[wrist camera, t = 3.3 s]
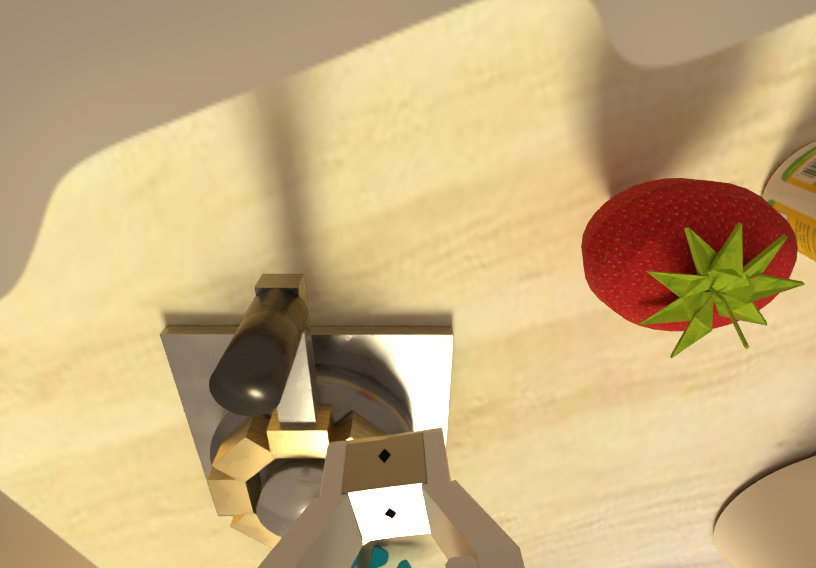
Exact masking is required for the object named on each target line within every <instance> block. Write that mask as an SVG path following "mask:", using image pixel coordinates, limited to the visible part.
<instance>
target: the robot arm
mask: <svg viewBox="0 0 816 568" xmlns="http://www.w3.org/2000/svg"><path fill="white" fill-rule="evenodd" d="M427 533H431V536H432V537H433V539H434V540H435V542H436V543H437V544H438V546H439V547H440V549H441V550H442V552H443V553H444V555H445V556H446V557H447V559H448V561H447V563H446V564H445V565H446V568H525V567H524V563H523V559H522V555H521V551H520V548H519V547H518V546H517V544H516V543H515V542H514V541H513V540H512V539H511V538H510V537H509V536H508V535H507V534H506V533H505V532H504V531H503V530H502V529H501V528H500V526H499V525H498V524H497V523H496V522H495V521H494V520H493V519H492V518H491V517H490V516H489V515H488V514H487V513H486V512H485V511H484V510H483V508H482V507H481V506H480V505H479V504H478V503H477V502H476V501H475V500H474V499H473V498H472V497H471V496H470V495H469V494H468V493H467V492H466V491H465V489H464V488H463V487H462V486H461V485H460V484H459V483H458V482H457V481H456V480H452V481H451V479H450V472H449V466H448V459H447V453H446V446H445V440H444V433H443V428H442V427H440V428H433V429H426V430H418V431H412V432H405V433H398V434H391V435H386V436H379V437H370V438H360V439H351V440H345V441H336V442H330V443H329V445H328V447H327V451H326V457H325V464H324V470H323V476H322V483H321V489H320V496H319V498H314V499H313V500H312V501H311V502H310V504H309V505H308V506H307V507H306V508H305V510H304V511H303V512H302V513H301V515H300V516H299V517H298V518H297V520H296V521H295V522H294V523H293V525H292V526H291V527H290V528H289V530H288V531H287V532H286V533H285V534H284V536H283V537H282V538H281V539H280V541H279V542H278V543H277V544H276V546H275V547H274V548H273V549H272V551H271V552H270V553H269V554H268V556H267V557H266V558H265V559H264V560H263V562H262V563H261V564H260V565H259V567H258V568H351V566H352V564H353V562H354V560H355V559H356V557H357V555H358V553H359V551H360V550H361V548H362V546H363V542H364V541H371V540H377V539H384V538H390V537H396V536H407V535H417V534H427ZM713 538H714V544H715V547H716V549H717V550H718V552H719V553H720V554H721V555H722V556H723V557H724V558H725V559H726V560H727V561H728V562H729V563H730V564H731V565H732V566H733V567H734V568H816V456H813V457H811V458H808V459H805V460H802V461H800V462H797V463H794V464H792V465H789V466H787V467H784V468H782V469H780V470H778V471H776V472H774V473H772V474H770V475H768V476H766V477H764V478H762V479H761V480H759V481H757V482H756V483H754V484H753V485H751V486H750V487H748V488H747V489H746V490H744V491H743V492H742V493H741V494H739V495H738V496H737V497H736V498H735V499H734V500H733V501H732V502H731V503H730V504H729V505H728V506H727V507H726V508H725V510H724V511H723V512H722V514H721V515H720V517H719V519H718V521H717V523H716V526H715V529H714V537H713Z"/></svg>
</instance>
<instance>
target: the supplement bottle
mask: <svg viewBox="0 0 816 568" xmlns="http://www.w3.org/2000/svg"><path fill="white" fill-rule="evenodd" d="M762 198H763V199H764V200H765V201H767V202H768V203H769V204H770V205H771V206H772V207H773V208H774V209H775V210H777V211H778V212H779V213H780V214H781V215H782V216H783V217H784V218H785V219H786V220H787V221H788V222H789V224H790V225H791V227H792V229H793V231H794V233H795V235H796V240H797V245H798V250H797V251H798V252H800V253H802V254H803V255H805V256H807V257H808V258H810V259H812V260H814V261H816V141H815V142H813V143H810V144H808V145H807V146H805V147H803V148H801V149H800V150H798V151H797V152H795V153H794V154H793V155H791V156H790V157H789V158H788V159H787V160H785V161H784V162H783V163H782V164H781V165H780V166H779V168H778V169H777V170H776V171H775V172H774V174H773V175H772V177H771V178H770V180H769V182H768V184H767V185H766V188H765V190H764V193H763V196H762Z"/></svg>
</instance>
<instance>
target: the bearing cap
mask: <svg viewBox="0 0 816 568" xmlns="http://www.w3.org/2000/svg"><path fill="white" fill-rule="evenodd" d="M238 327H239V326H166V327H165V328H164V330H163V331H162V332H161V333H160V337H161V340H162V343H163V346H164V349H165V352H166V355H167V358H168V362H169V365H170V368H171V371H172V374H173V377H174V380H175V383H176V386H177V390H178V393H179V396H180V399H181V402H182V405H183V408H184V411H185V414H186V418H187V421H188V424H189V427H190V430H191V433H192V436H193V439H194V442H195V446H196V449H197V452H198V455H199V458H200V461H201V464H202V467H203V470H204V473H205V477H206V480H207V479H208V477H209V475H210V472H211V470H212V468H213V466H212V464H213V461H214V459H215V457H216V455H217V452H218V450H219V448H220V446H221V443H222V441H223V439H224V438H225V437H226V436H227V435H228V434H230V433H231V432H232V431H233V430H234V429H235V428H236V427H238V426H239V425H240V424H241V423H242V422H243V421H245V420H246V419H247V418H248V417H249V416H242V415H238V414H234V413H232V412H230V411H228V410H226V409H224V408H223V407H221V406H220V405H219V404H218V403H217V402H216V401H215V400H214V398H213V397H212V395H211V393H210V390H209V380H210V377H211V375H212V373H213V372H214V370H215V368H216V366H217V364H218V363H219V361H220V359H221V357H222V356H223V354H224V352H225V350H226V348H227V347H228V345H229V343H230V341H231V339H232V338H233V336H234V334H235V332H236V330H237V329H238ZM310 330H311V338H312V346H313V355H314V363H315V371H316V380H317V388H318V396H319V404H326V405H332V407H333V417H334V426H335V425H336V424H337V423H339V422H340V421H341V420H343V419H344V418H345V417H347V416H348V415H349V414H350V413H352V412H353V411H355V412H356V413H357V414H359V415H360V416H362V417H363V418H365V419H366V420H367V421H369V422H370V423H372V424H373V425H375V426H376V427H378V428H379V429H380V430H382V431H383V432H385V433H386V434H388V435H391V434H398V433H405V432H412V431H418V430H426V429H433V428H440V427H442V428H443V433H444V440H445V446H446V434H447V420H448V406H449V392H450V378H451V363H452V349H453V329H452V327H385V326H310ZM272 413H273V411H271V412H269V413H267V414H265V415H263V416H265V417H266V418H268V419H269V420H270V419H271V416H272ZM324 464H325V458H275V459H274V460H273V461H271V462H270V463H269V464H268V465H266V466H265V467H264V468H262V469H261V470H260V471H259V474H260V479H261V483H262V485H263V488H262V491H261V494H260V497H259V501H258V504H257V508H256V512H257V517H258V519H259V521H260V522H261V524H262V525H263V526H264V527H265V528H266V529H267V530H269V531H270V532H272V533H273V534H275V535H277V536H279V537H283V536H284V534H285V533H286V532H287V531H288V530H289V528H290V527H291V526H292V525H293V523H294V522H295V521H296V520H297V518H298V517H299V516H300V515H301V513H302V512H303V511H304V510H305V508H306V507H307V506H308V505H309V504H310V502H311V501H312V500H313V499H314V498H319V496H320V489H321V483H322V476H323V470H324ZM207 483H208V481H207ZM208 486H209V484H208ZM209 489H210V487H209ZM210 492H211V490H210ZM211 495H212V494H211ZM212 498H213V497H212ZM213 501H214V500H213ZM214 505H215V503H214ZM215 508H216V506H215ZM216 511H217V509H216ZM217 514H218V512H217ZM218 516H234V515H218Z"/></svg>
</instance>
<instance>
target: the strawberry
mask: <svg viewBox="0 0 816 568" xmlns="http://www.w3.org/2000/svg"><path fill="white" fill-rule="evenodd" d="M581 247H582V256H583V265H584V272H585V278H586V280H587V282H588V285H589V287H590V289H591V290H592V291H593V293H594V294H595V295H596V296H597V297H598V298H599V300H601V301H602V302H603V303H605V304H606V305H607V306H608V307H610V308H611V309H612V310H613V311H615V312H616V313H617V314H619V315H620V316H622V317H623V318H624V319H626V320H628V321H630V322H632V323H635V324H637V325H639V326H643V327H647V328H650V329H654V330H663V331H684V332H683V334H682V336H681V338H680V340H679V341H678V343H677V345H676V347H675V349H674V351H673V352H672V354H671V356H670V357H671V358H673V357H674V356H675V355H677V354H678V353H680V352H681V351H683V350H684V349H686V348H687V347H689V346H690V345H692V344H693V343H695V342H696V341H697V340H699V339H700V338H702V337H703V336H705V335H706V334H708V333H709V332H711V331H712V329H714V328H718V327H722V326H725V325H729V324H732V323H733V324H734V327H735V329H736V331H737V333H738V335H739V337H740V339H741V341H742V343H743V345H744V347H745V348H746V349H747V348H749V346H748V343H747V341H746V339H745V337H744V335H743V333H742V331H741V329H740V327H739V325H738V323H737V321H739V320H742V321H747V322H752V323H757V324H762V325H767V322H766V320H765V319H764V317H763V316H762V314H761V313H760V312H759V310H760V309H762V308H763V307H764V306H766V305H767V304H768V303H770V302H771V301H772V300H773V299H774V298H775V297H776V296H777V295H778V294H779V293H780V292H783V291H786V290H789V289H792V288H795V287H798V286H801V285H804V283H803V282H801V281H796V280H791V279H789V277H790V275H791V273H792V270H793V268H794V265H795V263H796V260H797V250H798V245H797V240H796V235H795V233H794V231H793V229H792V227H791V225H790V224H789V222H788V221H787V220H786V219H785V218H784V217H783V216H782V215H781V214H780V213H779V212H778V211H777V210H775V209H774V208H773V207H772V206H771V205H770V204H769V203H768V202H767V201H765V200H764V199H763V198H762V197H760V196H759V195H757V194H755V193H753V192H752V191H750V190H748V189H746V188H742V187H739V186H736V185H733V184H730V183H722V182H714V181H706V180H695V179H685V178H669V179H660V180H654V181H649V182H646V183H643V184H639V185H636V186H633V187H631V188H629V189H627V190H625V191H623V192H621V193H619V194H617V195H616V196H614V197H613V198H612V199H610V200H609V201H607V202H606V203H605V204H604V205H603V206H602V207H601V208H600V209H599V210H597V211H596V212H595V214H594V215H593V217H592V218H591V219H590V221H589V222H588V224H587V226H586V229H585V231H584V234H583V238H582V246H581Z"/></svg>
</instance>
